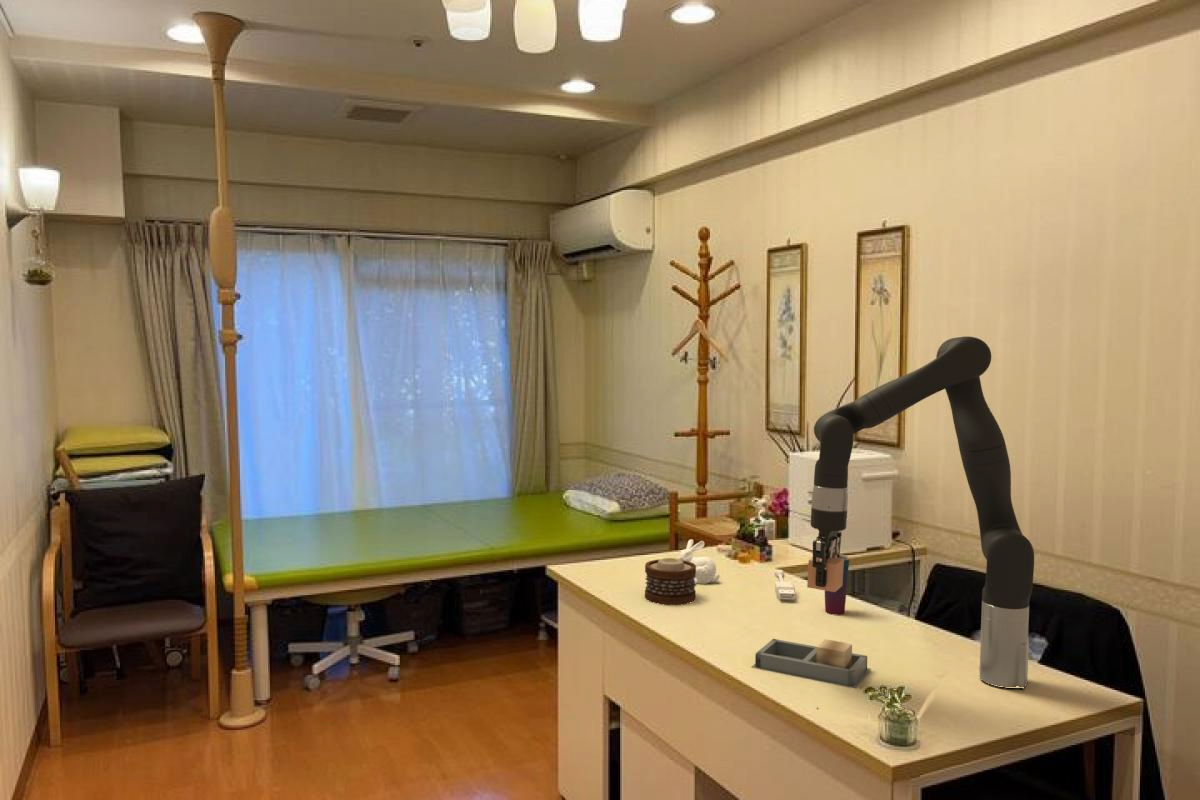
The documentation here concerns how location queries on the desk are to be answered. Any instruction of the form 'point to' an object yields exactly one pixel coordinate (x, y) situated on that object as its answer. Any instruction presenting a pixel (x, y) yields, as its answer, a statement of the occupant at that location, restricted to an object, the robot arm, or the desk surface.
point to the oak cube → (835, 654)
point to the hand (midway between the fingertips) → (825, 582)
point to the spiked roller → (670, 581)
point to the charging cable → (783, 587)
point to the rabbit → (700, 564)
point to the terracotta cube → (833, 575)
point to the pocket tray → (808, 664)
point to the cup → (838, 593)
